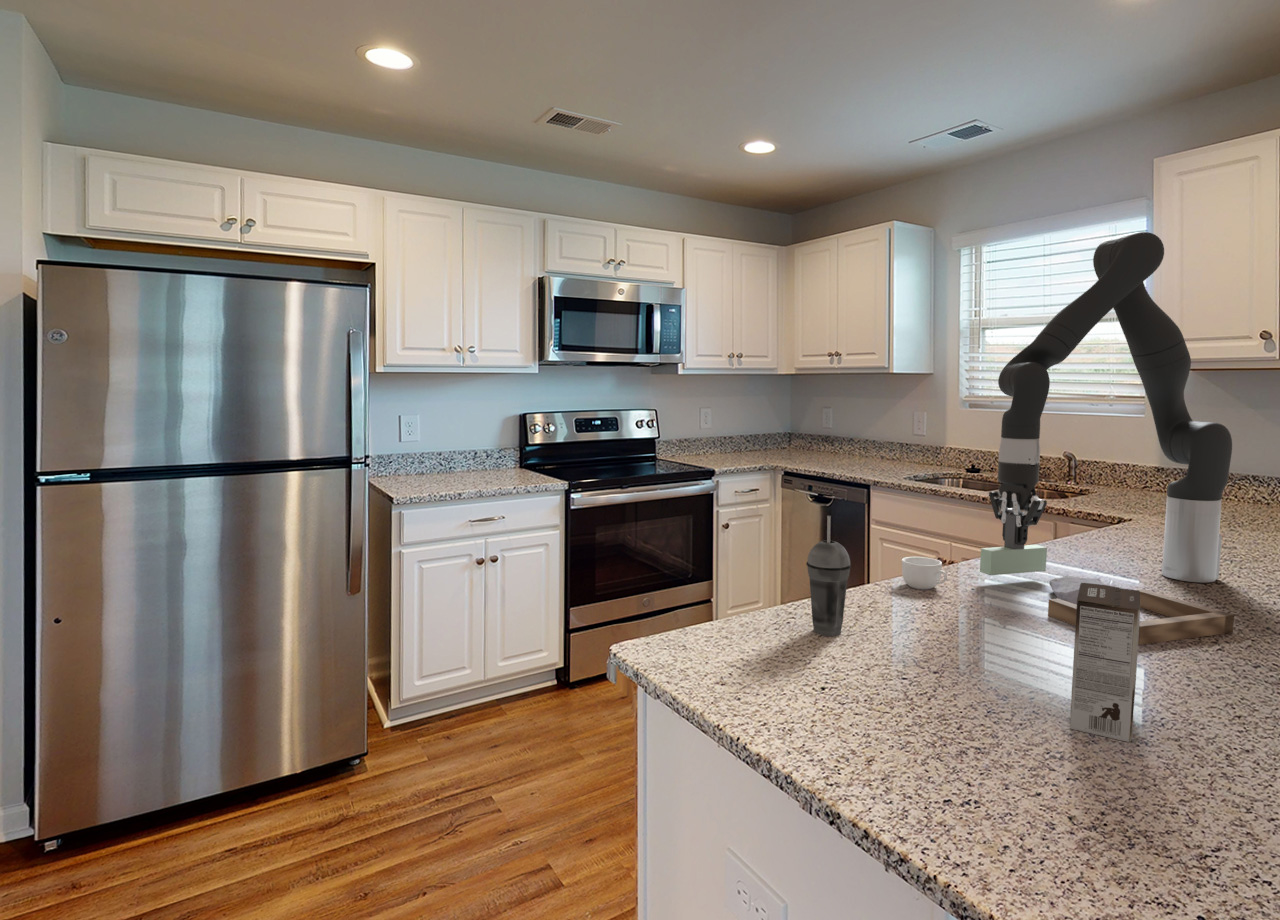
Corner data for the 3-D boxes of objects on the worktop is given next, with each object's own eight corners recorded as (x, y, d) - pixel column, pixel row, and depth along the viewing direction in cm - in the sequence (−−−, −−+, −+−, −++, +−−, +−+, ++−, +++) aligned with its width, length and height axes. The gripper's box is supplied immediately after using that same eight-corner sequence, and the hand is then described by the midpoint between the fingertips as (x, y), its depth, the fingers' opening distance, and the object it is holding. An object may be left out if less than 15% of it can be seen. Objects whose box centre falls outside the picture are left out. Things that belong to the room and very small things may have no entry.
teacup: (892, 584, 151) (893, 559, 151) (918, 579, 155) (919, 555, 154) (932, 596, 143) (933, 569, 142) (958, 591, 146) (959, 564, 146)
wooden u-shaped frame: (1142, 604, 136) (1143, 589, 136) (1232, 632, 121) (1234, 614, 121) (1047, 615, 130) (1048, 599, 130) (1130, 646, 115) (1131, 627, 115)
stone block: (1067, 617, 135) (1126, 609, 133) (1062, 592, 135) (1121, 584, 133) (1044, 601, 147) (1098, 594, 145) (1039, 578, 147) (1093, 570, 145)
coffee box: (1073, 702, 95) (1080, 581, 93) (1133, 714, 91) (1141, 588, 90) (1067, 729, 87) (1074, 598, 86) (1132, 743, 84) (1140, 607, 82)
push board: (990, 575, 149) (993, 517, 148) (979, 571, 152) (982, 515, 150) (1045, 570, 153) (1049, 514, 151) (1034, 567, 155) (1037, 512, 154)
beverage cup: (850, 627, 125) (853, 512, 123) (848, 641, 118) (851, 519, 116) (807, 622, 127) (809, 510, 125) (802, 636, 120) (804, 517, 118)
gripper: (979, 457, 155) (975, 537, 157) (1030, 464, 142) (1025, 551, 144) (1008, 456, 157) (1003, 535, 159) (1061, 463, 144) (1056, 548, 146)
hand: (1014, 542), depth 151 cm, fingers closed on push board, 2 cm apart
